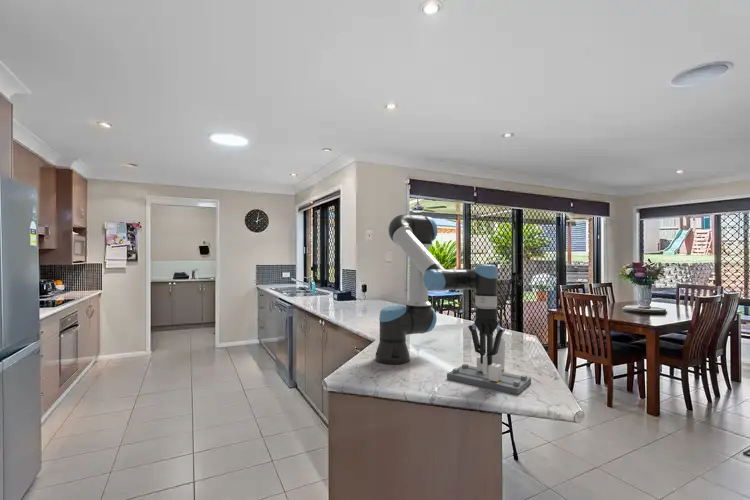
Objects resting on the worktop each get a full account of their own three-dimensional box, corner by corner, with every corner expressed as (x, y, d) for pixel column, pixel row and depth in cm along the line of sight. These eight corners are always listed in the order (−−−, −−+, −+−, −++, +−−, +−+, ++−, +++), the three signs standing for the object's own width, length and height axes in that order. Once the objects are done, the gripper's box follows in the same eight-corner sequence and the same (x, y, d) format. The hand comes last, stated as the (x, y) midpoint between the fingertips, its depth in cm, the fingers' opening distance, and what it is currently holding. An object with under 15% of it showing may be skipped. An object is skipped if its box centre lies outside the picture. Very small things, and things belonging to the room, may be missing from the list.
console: (446, 378, 140) (446, 370, 141) (464, 369, 152) (464, 361, 152) (517, 394, 124) (517, 385, 125) (531, 383, 136) (531, 374, 136)
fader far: (476, 370, 143) (476, 357, 143) (480, 368, 146) (480, 354, 147) (484, 372, 141) (484, 358, 142) (488, 369, 145) (488, 356, 145)
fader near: (489, 380, 132) (489, 365, 132) (493, 377, 135) (493, 362, 135) (497, 381, 130) (497, 366, 130) (501, 378, 133) (501, 364, 134)
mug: (505, 371, 150) (505, 341, 150) (487, 370, 152) (487, 340, 152) (504, 365, 160) (504, 336, 160) (488, 363, 162) (488, 335, 162)
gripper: (464, 306, 136) (464, 372, 136) (500, 310, 128) (500, 379, 128) (473, 305, 142) (473, 367, 142) (507, 307, 134) (508, 374, 134)
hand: (486, 373), depth 135 cm, fingers closed
